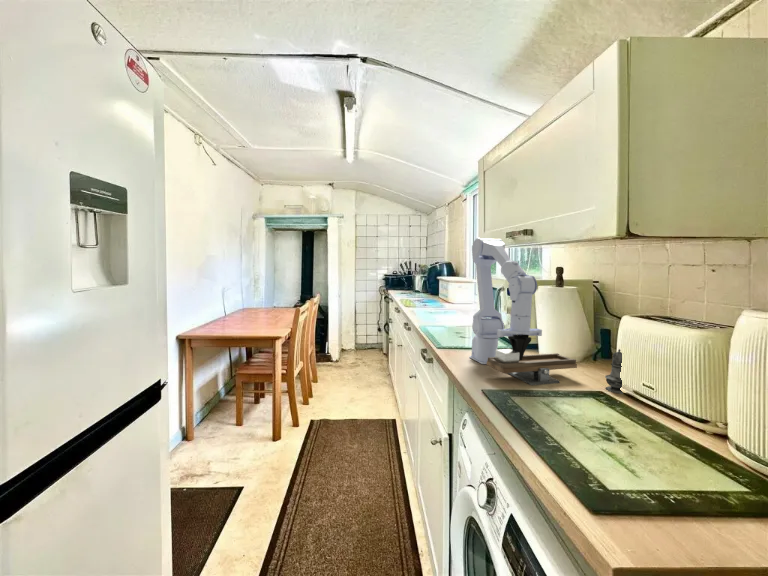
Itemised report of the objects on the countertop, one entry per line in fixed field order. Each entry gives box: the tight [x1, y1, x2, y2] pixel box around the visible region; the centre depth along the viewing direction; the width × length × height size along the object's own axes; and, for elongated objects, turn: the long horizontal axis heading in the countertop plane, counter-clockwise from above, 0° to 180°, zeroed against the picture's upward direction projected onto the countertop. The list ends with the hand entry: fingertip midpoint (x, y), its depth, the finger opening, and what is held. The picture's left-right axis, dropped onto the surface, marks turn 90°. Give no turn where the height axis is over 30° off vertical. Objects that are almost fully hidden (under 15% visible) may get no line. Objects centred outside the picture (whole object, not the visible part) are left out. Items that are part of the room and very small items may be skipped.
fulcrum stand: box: [507, 368, 560, 386], centre depth 113 cm, size 14×10×4 cm
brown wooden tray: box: [486, 353, 578, 374], centre depth 113 cm, size 9×26×2 cm, turn 106°
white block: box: [495, 348, 520, 364], centre depth 110 cm, size 5×5×4 cm
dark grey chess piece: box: [604, 348, 624, 395], centre depth 103 cm, size 6×6×12 cm
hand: (518, 359), depth 111 cm, fingers closed
